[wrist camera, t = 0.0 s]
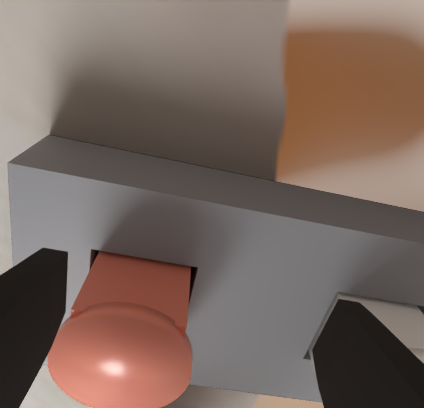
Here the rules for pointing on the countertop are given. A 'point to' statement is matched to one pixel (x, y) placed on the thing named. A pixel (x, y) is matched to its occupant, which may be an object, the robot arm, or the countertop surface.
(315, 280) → the plug panel
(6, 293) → the robot arm
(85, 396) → the red plug
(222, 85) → the countertop surface
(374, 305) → the plug
